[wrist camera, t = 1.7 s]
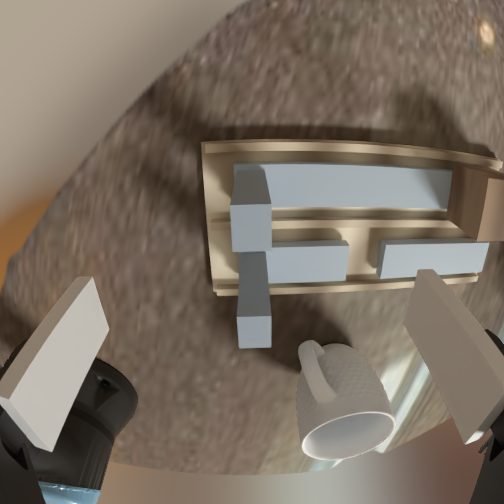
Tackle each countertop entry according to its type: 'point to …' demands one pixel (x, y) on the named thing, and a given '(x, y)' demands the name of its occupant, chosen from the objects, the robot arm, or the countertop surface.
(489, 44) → the countertop surface
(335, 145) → the lane board
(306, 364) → the mug
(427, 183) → the strip
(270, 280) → the broken strip
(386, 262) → the broken strip
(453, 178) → the walnut block
